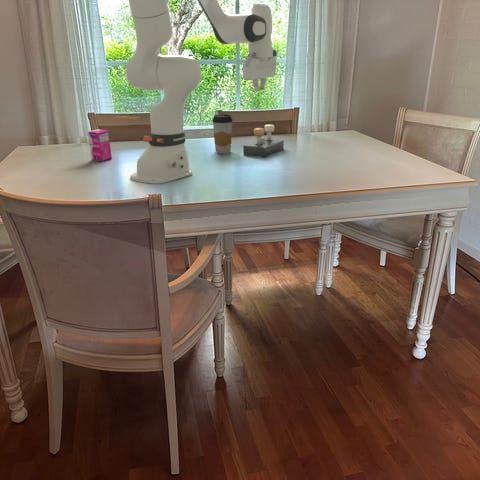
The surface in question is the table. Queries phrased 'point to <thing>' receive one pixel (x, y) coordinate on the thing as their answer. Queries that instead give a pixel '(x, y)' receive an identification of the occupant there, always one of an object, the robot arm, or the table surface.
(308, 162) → the table surface
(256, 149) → the mount
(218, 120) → the coffee cup
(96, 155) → the supplement box
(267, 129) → the knob cream
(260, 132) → the knob orange
